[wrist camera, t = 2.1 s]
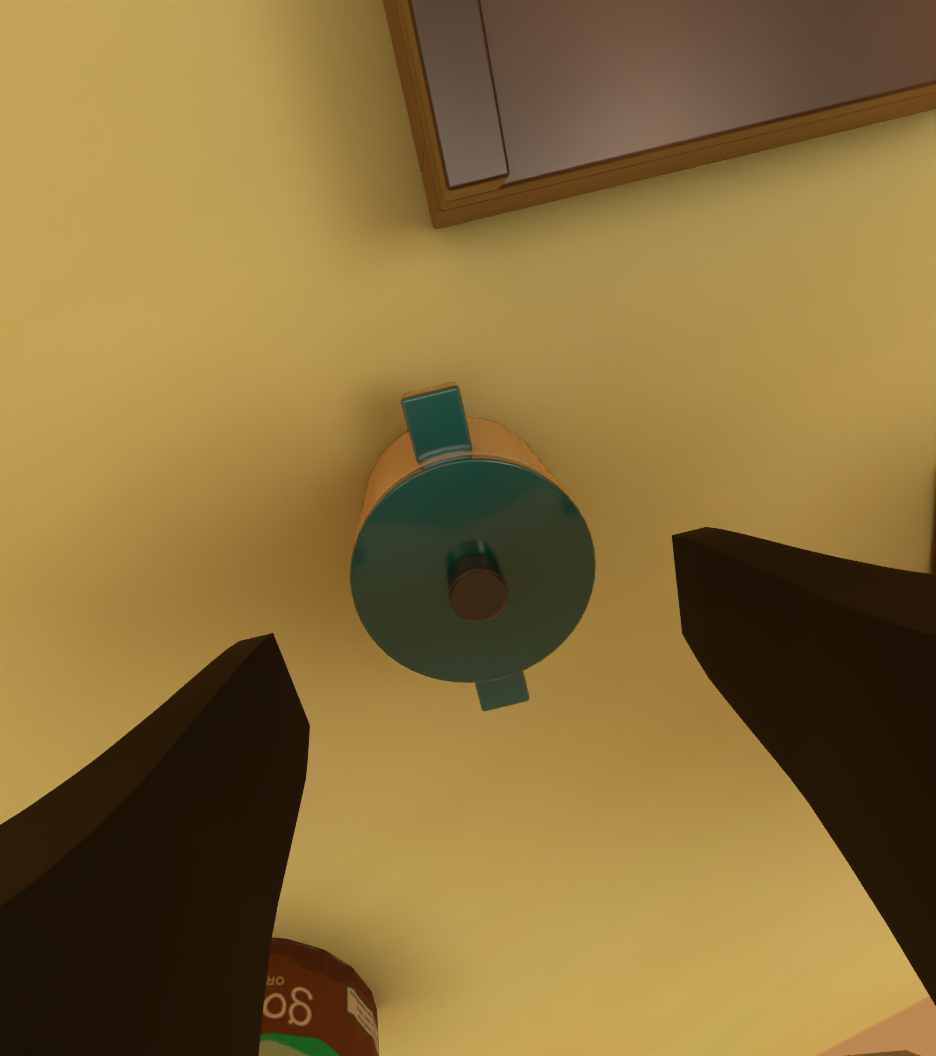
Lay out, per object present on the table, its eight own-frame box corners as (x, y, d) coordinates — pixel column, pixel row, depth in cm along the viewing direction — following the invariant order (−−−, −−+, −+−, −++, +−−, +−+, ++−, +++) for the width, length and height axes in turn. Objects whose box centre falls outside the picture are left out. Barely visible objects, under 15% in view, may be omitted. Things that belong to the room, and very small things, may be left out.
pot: (522, 345, 16) (576, 369, 11) (570, 605, 19) (630, 720, 13) (326, 393, 16) (287, 439, 11) (404, 646, 18) (402, 776, 13)
